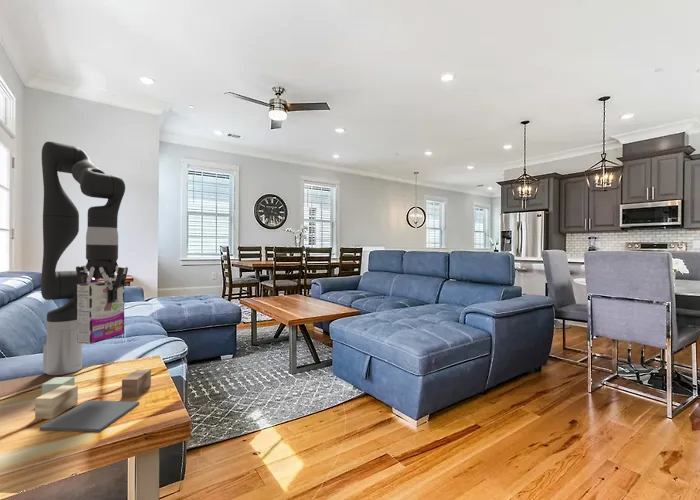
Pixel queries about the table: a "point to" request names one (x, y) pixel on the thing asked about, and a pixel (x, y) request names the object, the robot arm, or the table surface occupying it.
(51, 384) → the sage cube
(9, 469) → the table surface
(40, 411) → the beech block
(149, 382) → the walnut block
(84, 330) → the candy bar box
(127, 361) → the table surface
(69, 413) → the mat
